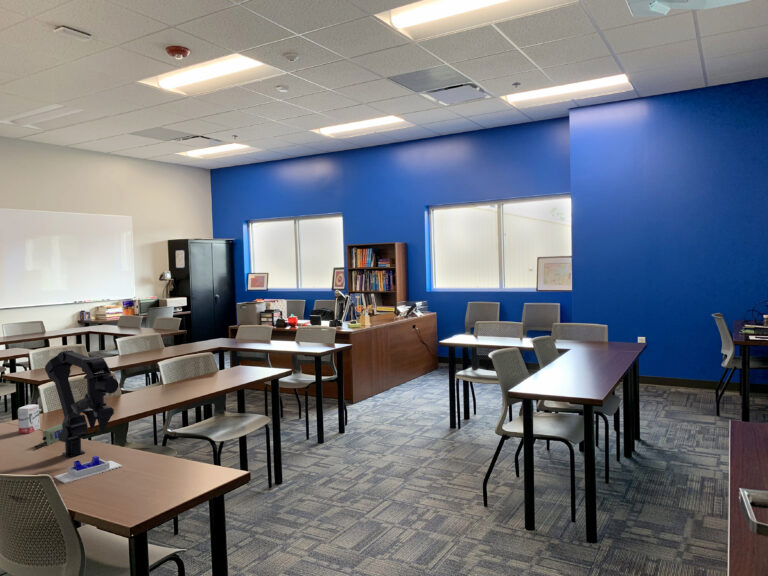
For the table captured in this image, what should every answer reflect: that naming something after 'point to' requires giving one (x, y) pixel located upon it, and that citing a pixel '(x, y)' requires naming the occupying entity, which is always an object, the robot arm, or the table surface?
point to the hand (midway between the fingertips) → (97, 430)
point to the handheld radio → (50, 435)
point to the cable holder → (93, 463)
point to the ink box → (28, 418)
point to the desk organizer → (87, 471)
